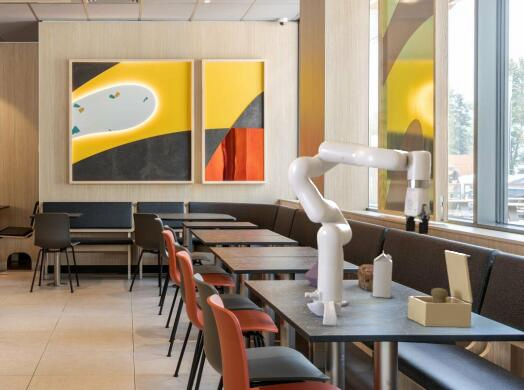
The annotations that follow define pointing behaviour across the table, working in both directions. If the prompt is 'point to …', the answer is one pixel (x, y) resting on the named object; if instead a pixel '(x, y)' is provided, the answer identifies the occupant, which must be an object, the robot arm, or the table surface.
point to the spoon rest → (325, 311)
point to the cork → (439, 295)
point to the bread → (366, 276)
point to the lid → (459, 275)
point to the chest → (439, 312)
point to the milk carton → (382, 276)
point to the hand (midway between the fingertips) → (416, 232)
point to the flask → (313, 275)
